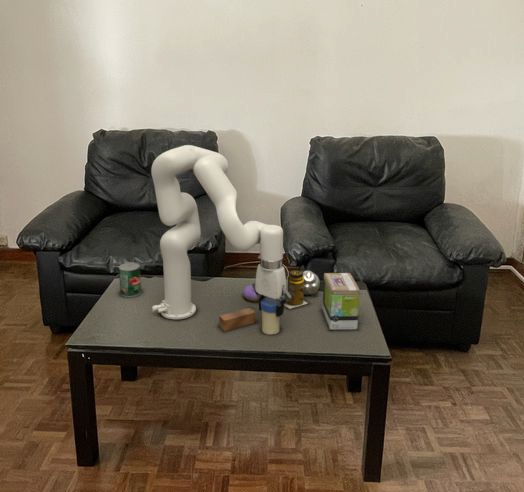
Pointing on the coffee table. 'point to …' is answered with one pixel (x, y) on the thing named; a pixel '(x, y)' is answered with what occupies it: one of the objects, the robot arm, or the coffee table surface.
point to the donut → (250, 293)
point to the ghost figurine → (310, 283)
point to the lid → (269, 304)
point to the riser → (237, 319)
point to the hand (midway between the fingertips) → (271, 311)
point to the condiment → (295, 289)
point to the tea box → (340, 301)
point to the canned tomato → (130, 279)
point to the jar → (270, 322)
